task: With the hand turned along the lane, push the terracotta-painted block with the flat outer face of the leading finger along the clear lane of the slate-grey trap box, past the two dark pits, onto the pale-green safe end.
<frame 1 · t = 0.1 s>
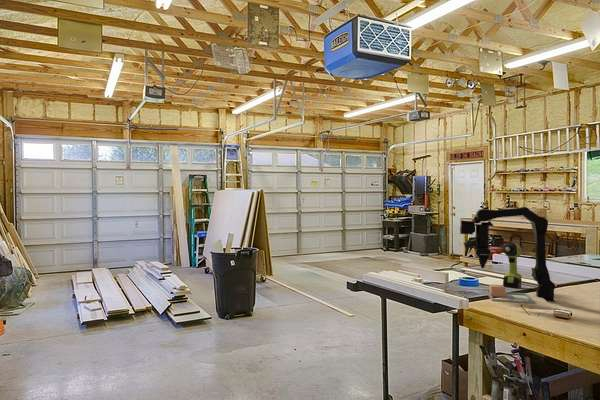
hand: (481, 266, 214), 14 cm above the table, fingers open, 9 cm apart
block: (497, 295, 210), point 1 cm above the table, touching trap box
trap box: (509, 301, 205), on the table
cordless drill: (510, 290, 227), on the table
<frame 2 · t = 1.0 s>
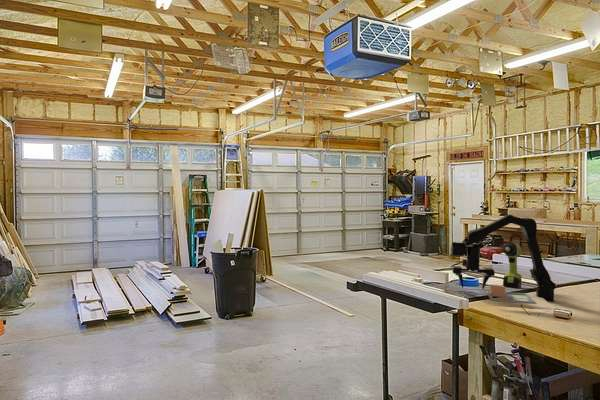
hand: (472, 288, 212), 4 cm above the table, fingers open, 9 cm apart
nothing on the table moved.
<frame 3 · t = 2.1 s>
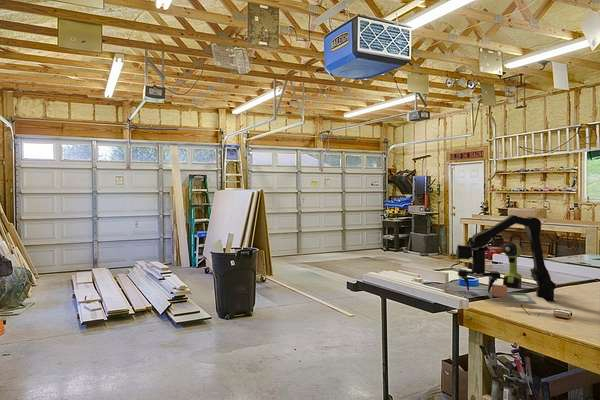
hand: (478, 291, 212), 3 cm above the table, fingers open, 9 cm apart
block: (499, 295, 209), point 2 cm above the table, touching gripper, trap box
everything else where it was.
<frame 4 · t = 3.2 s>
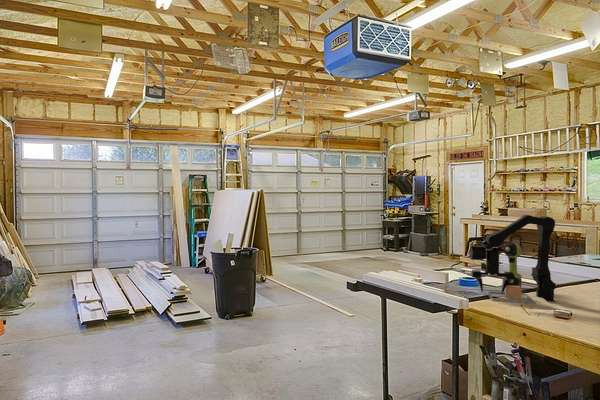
hand: (492, 292, 210), 3 cm above the table, fingers open, 9 cm apart
block: (513, 296, 208), point 2 cm above the table, touching gripper
everything else where it was.
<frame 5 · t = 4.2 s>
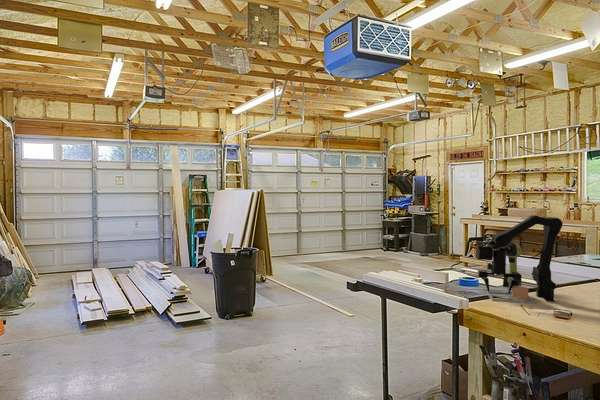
hand: (498, 292, 209), 3 cm above the table, fingers open, 9 cm apart
block: (519, 296, 207), point 1 cm above the table, touching gripper, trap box
everything else where it was.
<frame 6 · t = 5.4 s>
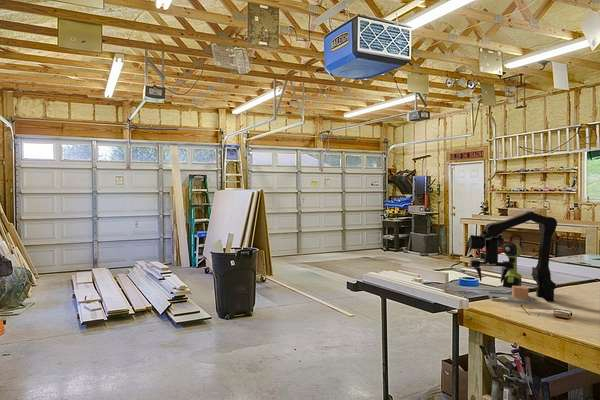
hand: (490, 281, 210), 8 cm above the table, fingers open, 9 cm apart
block: (519, 296, 207), point 1 cm above the table, touching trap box
everything else where it was.
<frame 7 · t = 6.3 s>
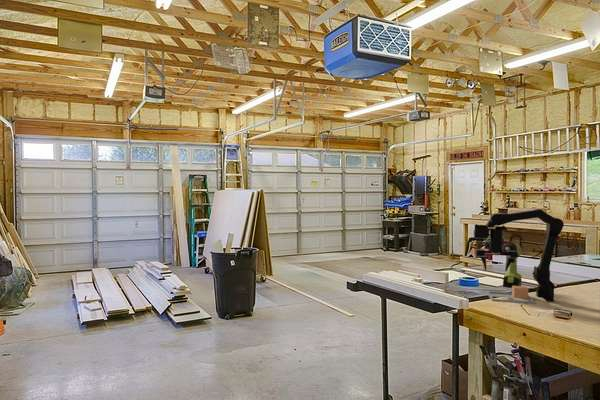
hand: (495, 270, 213), 12 cm above the table, fingers open, 9 cm apart
nothing on the table moved.
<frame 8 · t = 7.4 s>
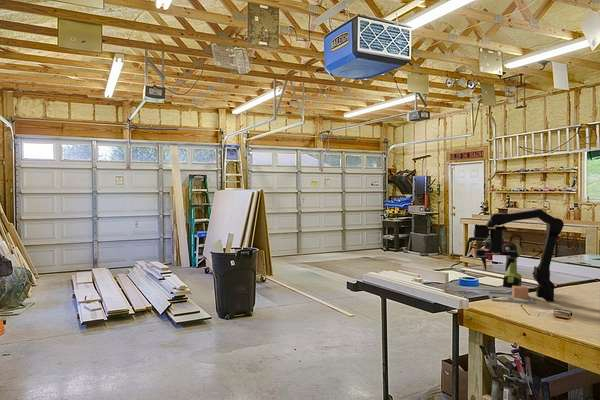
hand: (495, 270, 213), 13 cm above the table, fingers open, 9 cm apart
nothing on the table moved.
at the end: block 0.7 cm from the target spot on the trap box, point 1.5 cm above the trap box's base; block tilted 0° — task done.
